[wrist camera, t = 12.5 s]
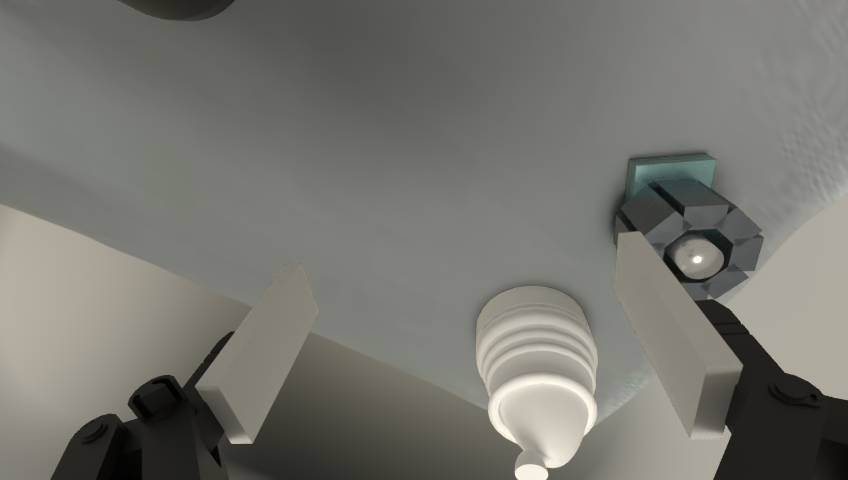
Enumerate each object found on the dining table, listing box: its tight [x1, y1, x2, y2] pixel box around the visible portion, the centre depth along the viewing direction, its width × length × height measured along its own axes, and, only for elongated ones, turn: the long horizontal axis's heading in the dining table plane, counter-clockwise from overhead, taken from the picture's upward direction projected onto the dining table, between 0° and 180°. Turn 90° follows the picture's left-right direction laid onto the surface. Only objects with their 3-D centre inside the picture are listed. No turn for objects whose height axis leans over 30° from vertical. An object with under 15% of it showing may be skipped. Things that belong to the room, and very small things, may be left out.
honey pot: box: [476, 285, 598, 480], centre depth 40 cm, size 13×13×18 cm
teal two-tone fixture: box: [623, 153, 724, 279], centre depth 35 cm, size 12×6×9 cm, turn 7°
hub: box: [614, 179, 764, 301], centre depth 35 cm, size 9×9×6 cm
